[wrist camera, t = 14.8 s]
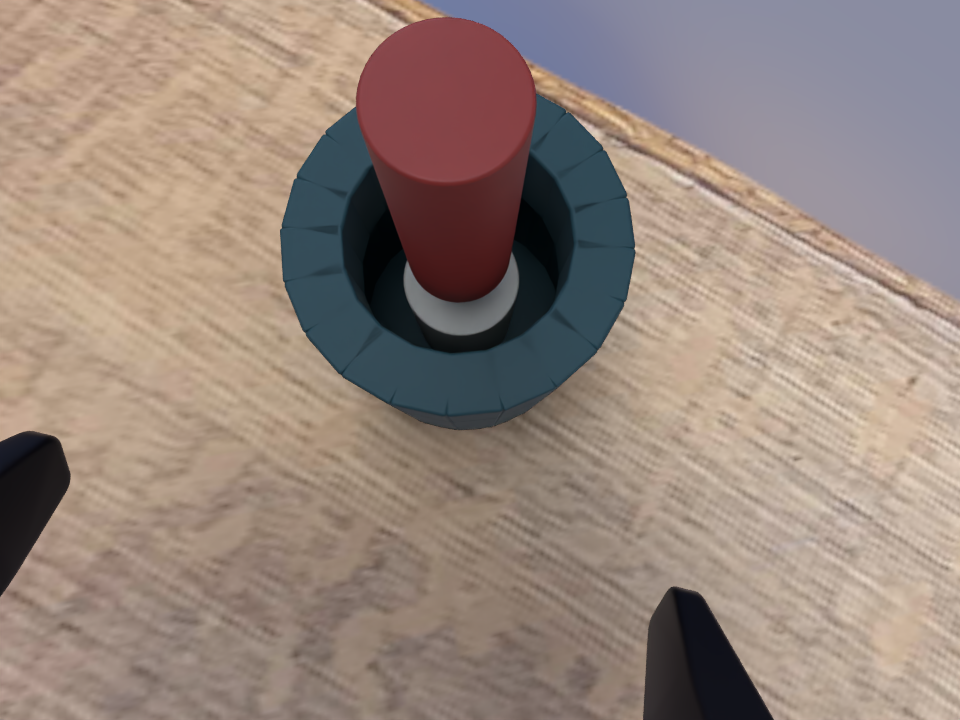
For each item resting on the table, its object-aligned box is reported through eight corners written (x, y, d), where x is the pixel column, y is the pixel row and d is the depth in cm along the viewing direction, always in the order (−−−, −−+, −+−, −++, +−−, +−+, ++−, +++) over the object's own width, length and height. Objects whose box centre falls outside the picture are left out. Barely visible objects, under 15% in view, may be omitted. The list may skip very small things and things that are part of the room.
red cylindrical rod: (522, 343, 21) (601, 164, 8) (437, 374, 21) (373, 245, 8) (490, 260, 22) (513, -40, 8) (406, 291, 21) (295, 33, 8)
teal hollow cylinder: (608, 286, 22) (696, 178, 14) (503, 470, 22) (523, 484, 13) (428, 184, 23) (398, 16, 14) (318, 360, 22) (211, 299, 13)
